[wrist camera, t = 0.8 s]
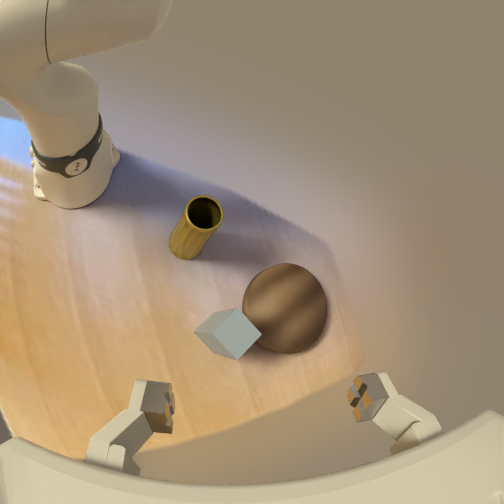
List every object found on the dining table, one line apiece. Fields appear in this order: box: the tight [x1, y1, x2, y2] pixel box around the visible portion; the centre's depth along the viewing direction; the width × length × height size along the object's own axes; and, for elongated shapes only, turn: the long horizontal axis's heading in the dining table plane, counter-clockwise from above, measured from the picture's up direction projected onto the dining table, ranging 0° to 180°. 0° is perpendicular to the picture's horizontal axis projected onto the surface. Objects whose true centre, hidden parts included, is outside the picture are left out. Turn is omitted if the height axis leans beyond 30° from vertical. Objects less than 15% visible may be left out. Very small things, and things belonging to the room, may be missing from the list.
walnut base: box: [242, 263, 327, 354], centre depth 51 cm, size 17×17×3 cm
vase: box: [169, 195, 223, 260], centre depth 42 cm, size 6×6×14 cm
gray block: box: [194, 308, 262, 360], centre depth 41 cm, size 5×5×12 cm
